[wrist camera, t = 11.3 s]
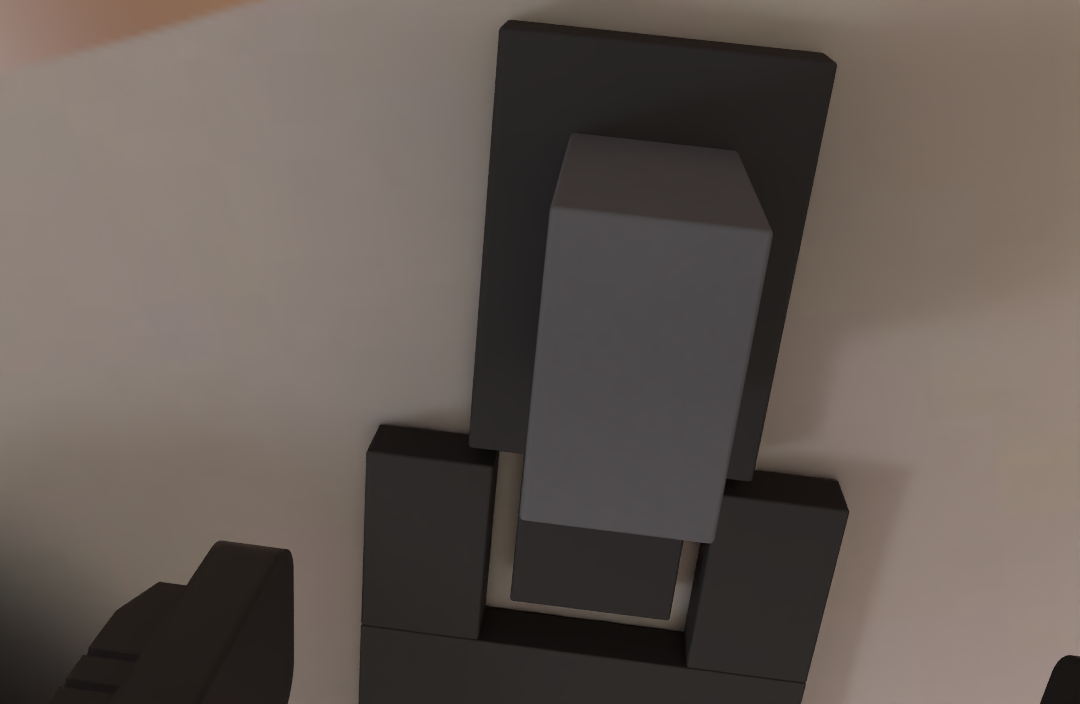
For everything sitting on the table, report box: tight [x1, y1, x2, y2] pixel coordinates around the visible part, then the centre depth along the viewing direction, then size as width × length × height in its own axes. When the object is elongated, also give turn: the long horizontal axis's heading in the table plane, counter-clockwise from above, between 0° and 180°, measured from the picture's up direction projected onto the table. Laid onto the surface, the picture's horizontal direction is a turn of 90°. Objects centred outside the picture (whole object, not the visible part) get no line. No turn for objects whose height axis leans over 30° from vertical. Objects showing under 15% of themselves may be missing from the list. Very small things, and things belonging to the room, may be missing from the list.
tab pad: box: [469, 20, 837, 620], centre depth 22 cm, size 14×7×8 cm, turn 175°
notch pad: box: [359, 425, 849, 704], centre depth 29 cm, size 14×12×2 cm
